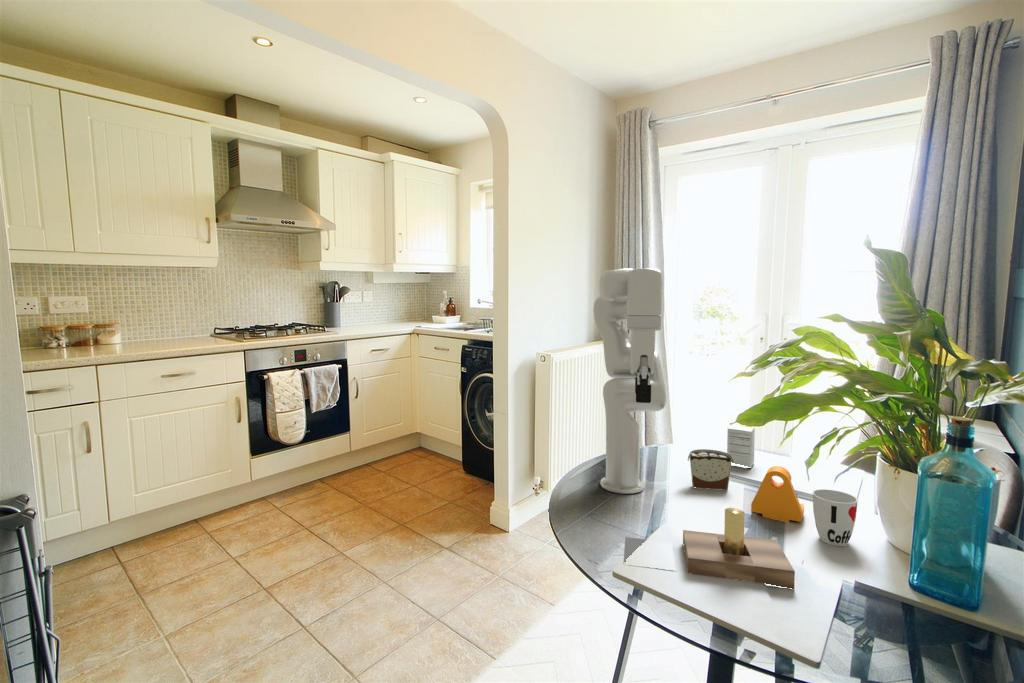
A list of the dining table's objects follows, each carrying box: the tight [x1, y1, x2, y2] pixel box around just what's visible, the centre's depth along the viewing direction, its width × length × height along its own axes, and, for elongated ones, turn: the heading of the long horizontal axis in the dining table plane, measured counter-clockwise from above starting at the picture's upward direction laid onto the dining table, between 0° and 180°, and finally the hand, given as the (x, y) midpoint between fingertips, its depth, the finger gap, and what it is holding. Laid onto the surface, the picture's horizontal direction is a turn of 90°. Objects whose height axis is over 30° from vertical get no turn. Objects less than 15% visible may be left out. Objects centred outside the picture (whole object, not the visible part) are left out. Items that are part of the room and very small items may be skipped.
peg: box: [723, 507, 746, 556], centre depth 92 cm, size 4×4×11 cm
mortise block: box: [682, 529, 796, 590], centre depth 93 cm, size 12×18×4 cm, turn 74°
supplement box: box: [726, 424, 756, 468], centre depth 155 cm, size 7×7×13 cm
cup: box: [812, 488, 858, 547], centre depth 103 cm, size 8×8×10 cm
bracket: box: [750, 465, 805, 523], centre depth 116 cm, size 11×7×12 cm, turn 54°
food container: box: [687, 448, 734, 491], centre depth 136 cm, size 12×6×10 cm, turn 80°
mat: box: [623, 536, 648, 563], centre depth 97 cm, size 12×10×1 cm
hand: (642, 397), depth 107 cm, fingers open, 9 cm apart
